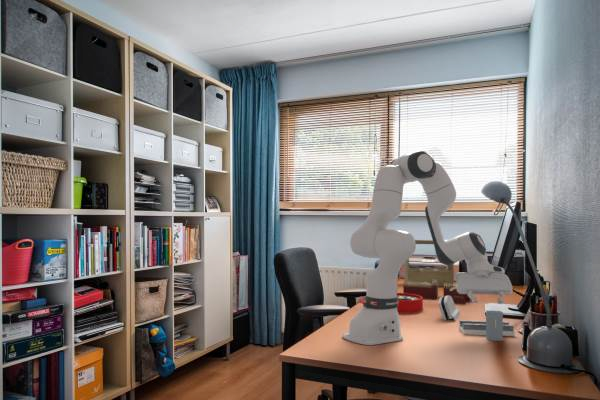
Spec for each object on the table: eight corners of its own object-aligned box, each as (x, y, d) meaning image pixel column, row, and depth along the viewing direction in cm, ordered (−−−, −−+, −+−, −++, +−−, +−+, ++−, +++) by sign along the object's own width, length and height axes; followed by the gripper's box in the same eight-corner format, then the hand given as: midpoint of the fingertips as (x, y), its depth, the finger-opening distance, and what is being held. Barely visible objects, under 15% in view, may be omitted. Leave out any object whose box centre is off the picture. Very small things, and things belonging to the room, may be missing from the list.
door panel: (488, 340, 156) (488, 312, 156) (486, 338, 158) (485, 310, 159) (503, 341, 155) (502, 312, 156) (500, 338, 158) (500, 311, 158)
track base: (464, 334, 164) (464, 324, 164) (458, 328, 172) (458, 319, 172) (514, 336, 162) (514, 326, 162) (506, 330, 170) (506, 321, 170)
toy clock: (374, 297, 205) (387, 291, 222) (373, 310, 205) (387, 303, 222) (416, 302, 195) (427, 295, 213) (416, 315, 195) (427, 307, 213)
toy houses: (469, 298, 238) (469, 279, 238) (470, 305, 219) (470, 285, 219) (386, 292, 254) (386, 274, 254) (380, 298, 235) (380, 279, 235)
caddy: (449, 284, 285) (449, 238, 286) (454, 286, 274) (454, 238, 275) (404, 283, 286) (404, 237, 287) (407, 286, 276) (407, 238, 277)
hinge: (455, 321, 184) (447, 298, 186) (444, 323, 186) (436, 300, 188) (460, 313, 199) (452, 292, 200) (450, 315, 201) (442, 294, 202)
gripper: (454, 267, 173) (460, 296, 163) (508, 268, 171) (518, 298, 161) (451, 277, 178) (457, 306, 168) (504, 278, 176) (513, 308, 166)
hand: (487, 302), depth 164 cm, fingers open, 8 cm apart
